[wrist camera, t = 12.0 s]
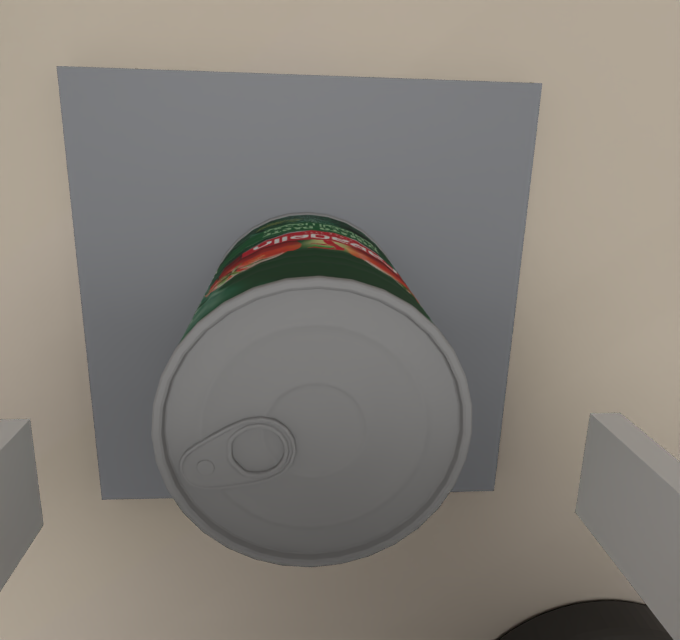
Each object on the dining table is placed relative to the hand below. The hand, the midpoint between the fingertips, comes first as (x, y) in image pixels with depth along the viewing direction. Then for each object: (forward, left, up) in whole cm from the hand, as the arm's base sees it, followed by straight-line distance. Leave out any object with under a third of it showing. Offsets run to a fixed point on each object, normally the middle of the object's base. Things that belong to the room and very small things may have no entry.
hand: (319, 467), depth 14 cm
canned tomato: (+1, 0, -12) cm, 12 cm away
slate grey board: (0, 0, -13) cm, 13 cm away
